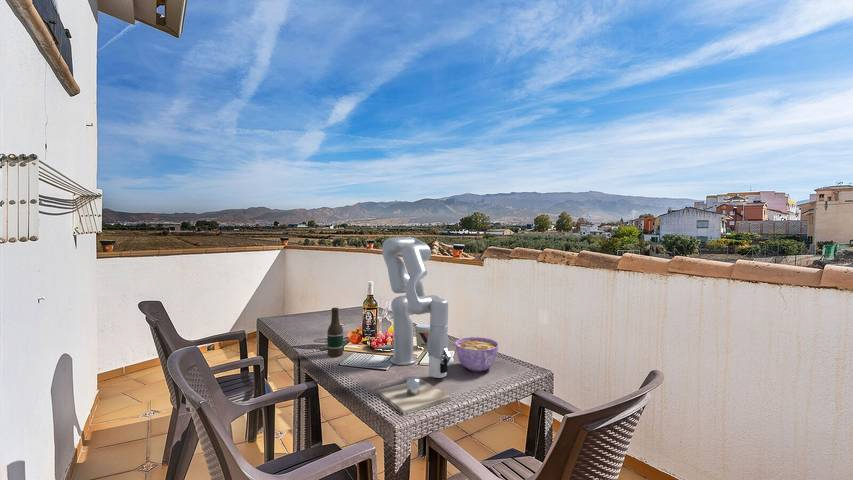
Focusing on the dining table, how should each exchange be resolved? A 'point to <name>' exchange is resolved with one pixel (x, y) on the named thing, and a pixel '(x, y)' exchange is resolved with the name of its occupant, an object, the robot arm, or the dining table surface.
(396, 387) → the beige flat square plate
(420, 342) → the coffee cup
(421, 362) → the dining table surface
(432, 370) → the elbow
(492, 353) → the bowl of food
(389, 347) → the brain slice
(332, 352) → the beer bottle
